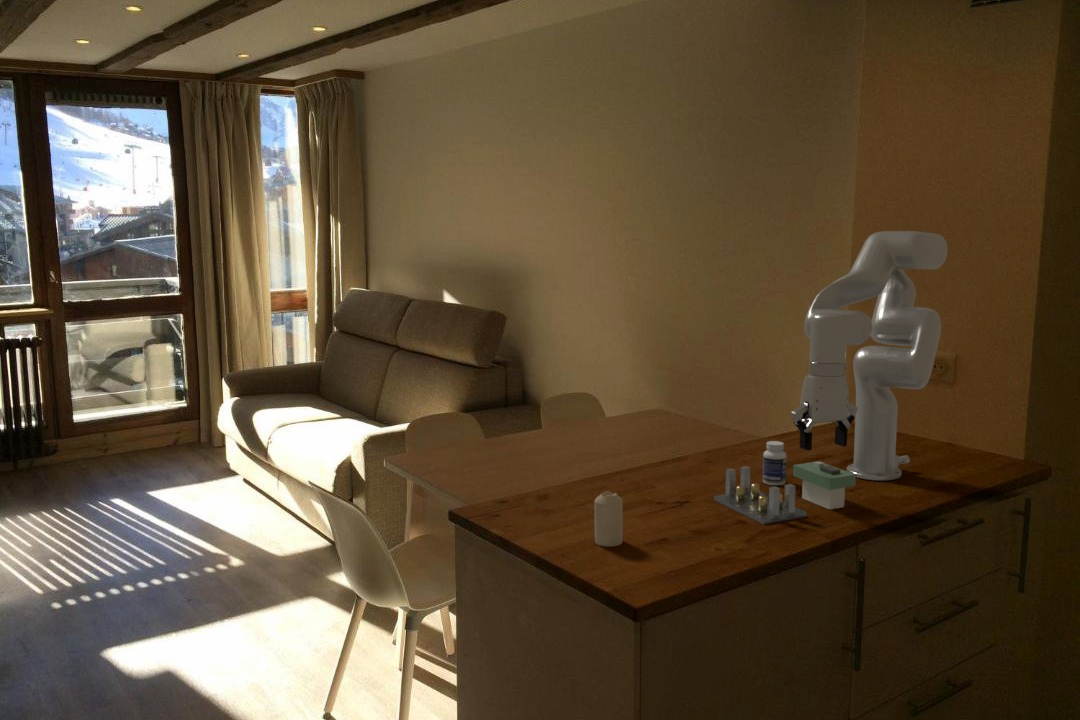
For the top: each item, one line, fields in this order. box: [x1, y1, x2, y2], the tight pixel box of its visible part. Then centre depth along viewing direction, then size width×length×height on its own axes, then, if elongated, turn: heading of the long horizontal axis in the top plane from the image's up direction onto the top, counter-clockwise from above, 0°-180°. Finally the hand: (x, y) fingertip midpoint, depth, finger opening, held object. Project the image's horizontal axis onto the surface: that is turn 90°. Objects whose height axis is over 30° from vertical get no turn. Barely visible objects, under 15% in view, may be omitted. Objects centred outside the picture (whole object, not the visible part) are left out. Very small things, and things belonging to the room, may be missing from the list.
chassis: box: [713, 465, 807, 525], centre depth 196 cm, size 11×18×7 cm, turn 23°
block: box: [801, 480, 846, 510], centre depth 199 cm, size 4×9×5 cm, turn 23°
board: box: [792, 461, 857, 490], centre depth 198 cm, size 7×12×3 cm, turn 23°
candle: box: [593, 490, 624, 548], centre depth 177 cm, size 6×6×10 cm
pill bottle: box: [762, 440, 788, 486], centre depth 214 cm, size 5×5×10 cm
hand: (823, 447), depth 197 cm, fingers open, 9 cm apart
